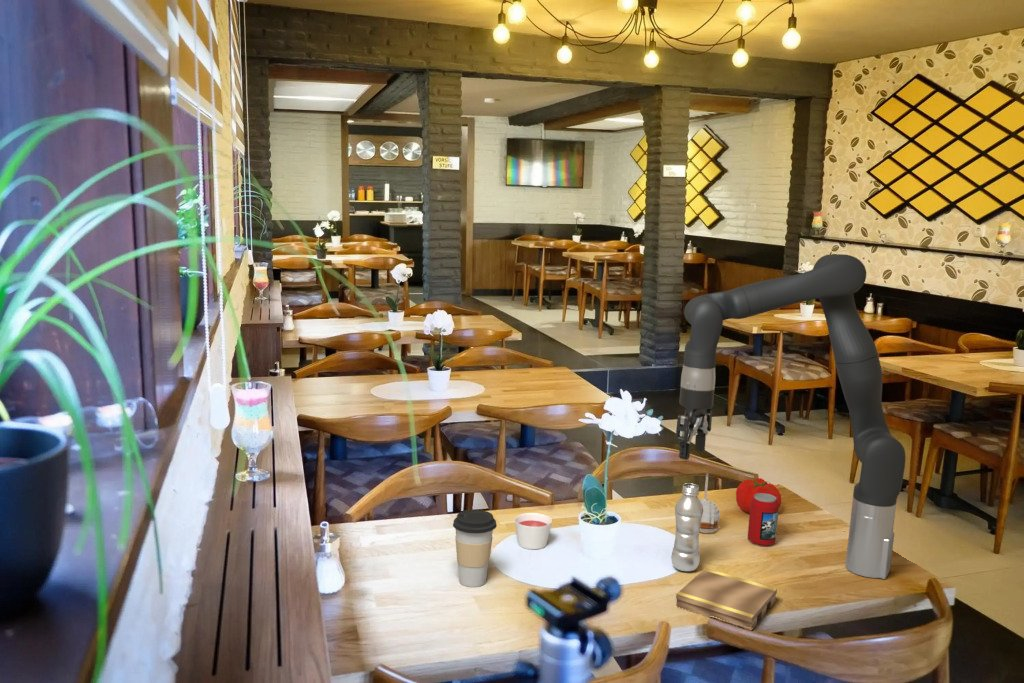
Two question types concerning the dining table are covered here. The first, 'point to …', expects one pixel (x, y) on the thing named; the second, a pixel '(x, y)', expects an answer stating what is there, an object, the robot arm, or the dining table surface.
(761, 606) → the dock
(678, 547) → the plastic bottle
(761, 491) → the tomato
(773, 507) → the beverage can
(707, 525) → the decorative ornament
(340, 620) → the dining table surface
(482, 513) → the coffee cup
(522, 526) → the candle
